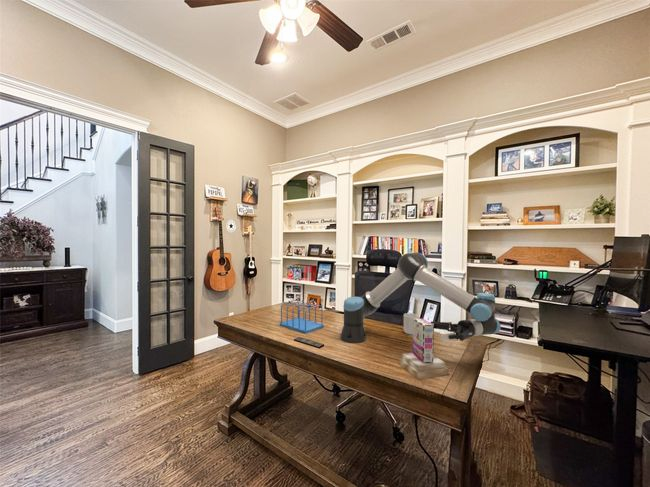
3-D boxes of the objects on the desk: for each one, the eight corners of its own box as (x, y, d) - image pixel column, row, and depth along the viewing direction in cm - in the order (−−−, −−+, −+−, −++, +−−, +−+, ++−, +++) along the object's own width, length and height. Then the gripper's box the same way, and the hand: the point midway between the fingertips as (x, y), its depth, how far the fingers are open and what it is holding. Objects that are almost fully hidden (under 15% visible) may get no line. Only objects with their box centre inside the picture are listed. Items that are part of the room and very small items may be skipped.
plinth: (398, 363, 127) (398, 353, 127) (426, 360, 131) (426, 349, 131) (418, 379, 113) (418, 367, 113) (448, 374, 117) (448, 363, 117)
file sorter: (279, 325, 185) (279, 303, 184) (298, 320, 198) (298, 299, 198) (305, 334, 168) (305, 309, 168) (324, 327, 181) (324, 304, 181)
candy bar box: (434, 363, 117) (434, 325, 117) (423, 363, 116) (423, 325, 116) (422, 352, 128) (422, 317, 128) (412, 352, 127) (412, 317, 127)
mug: (413, 336, 165) (413, 317, 164) (400, 332, 171) (401, 314, 171) (423, 331, 173) (423, 314, 173) (410, 328, 179) (411, 311, 179)
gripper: (492, 345, 116) (451, 351, 110) (450, 327, 140) (414, 331, 134) (492, 328, 116) (451, 332, 110) (450, 313, 140) (414, 316, 134)
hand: (430, 332), depth 122 cm, fingers open, 13 cm apart
